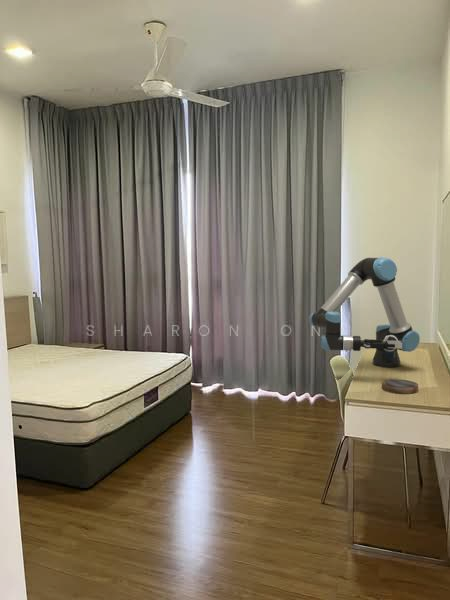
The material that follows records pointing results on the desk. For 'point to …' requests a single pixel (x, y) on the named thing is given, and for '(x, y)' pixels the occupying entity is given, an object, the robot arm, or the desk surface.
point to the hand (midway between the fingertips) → (401, 344)
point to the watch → (389, 353)
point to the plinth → (400, 386)
